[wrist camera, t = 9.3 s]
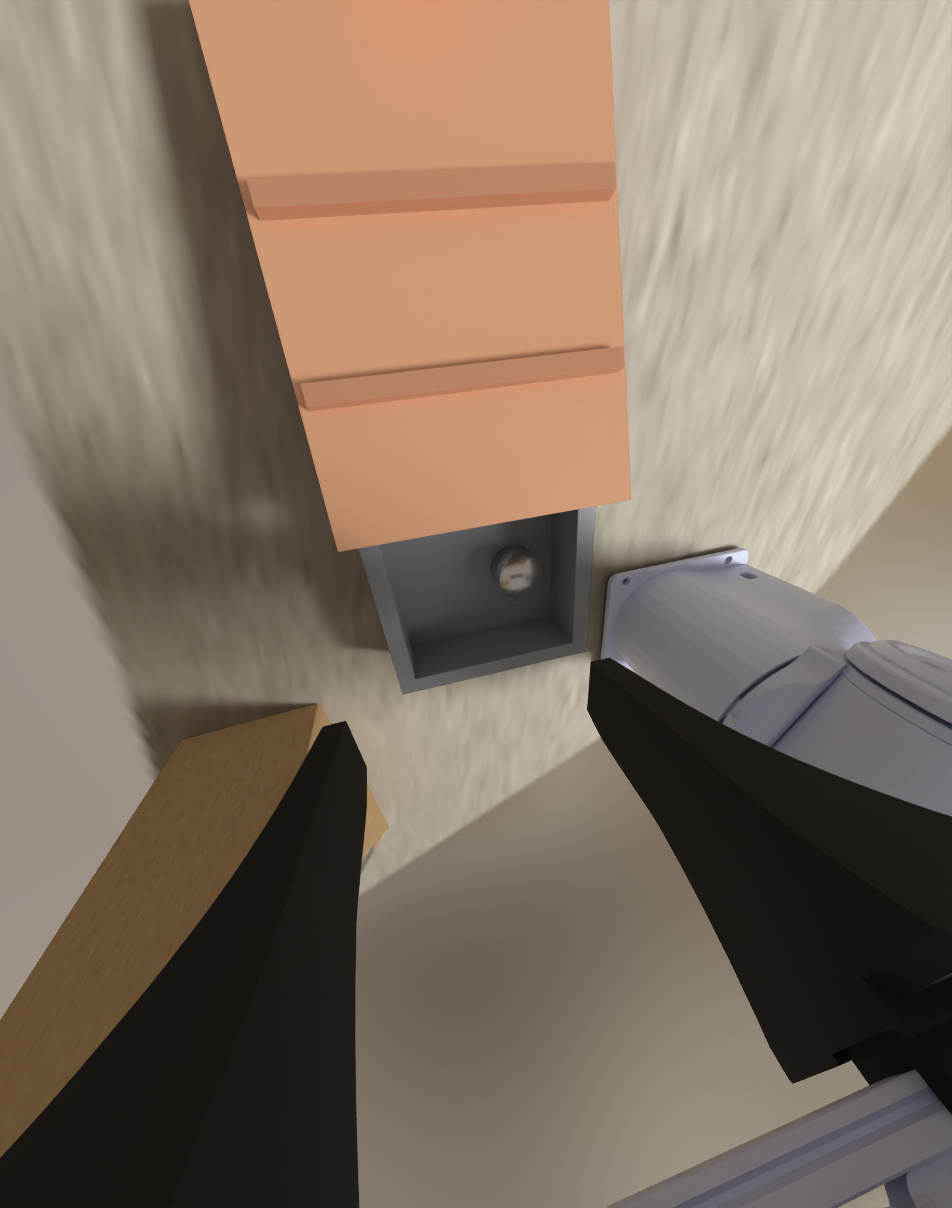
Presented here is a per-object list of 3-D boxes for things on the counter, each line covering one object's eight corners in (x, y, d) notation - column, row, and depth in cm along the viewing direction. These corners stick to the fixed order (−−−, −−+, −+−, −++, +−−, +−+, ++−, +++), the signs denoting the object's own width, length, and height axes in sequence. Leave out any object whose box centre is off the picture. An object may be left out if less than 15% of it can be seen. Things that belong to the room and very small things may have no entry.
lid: (582, -207, 9) (664, -559, 6) (620, 500, 13) (677, 494, 10) (127, -255, 7) (-52, -740, 5) (342, 550, 12) (320, 559, 9)
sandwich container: (288, 858, 28) (204, 1230, 15) (175, 739, 20) (-191, 1299, 8) (392, 826, 29) (394, 1153, 16) (322, 699, 21) (220, 1141, 8)
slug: (533, 540, 18) (546, 553, 17) (534, 581, 19) (546, 596, 18) (488, 549, 18) (498, 562, 16) (492, 589, 19) (502, 605, 17)
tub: (562, 371, 15) (605, 362, 12) (559, 618, 22) (586, 651, 19) (329, 400, 14) (312, 398, 11) (400, 652, 20) (402, 694, 17)
